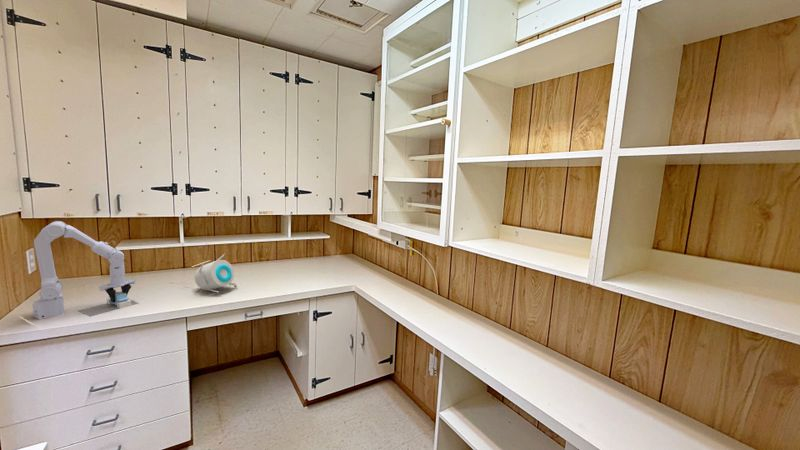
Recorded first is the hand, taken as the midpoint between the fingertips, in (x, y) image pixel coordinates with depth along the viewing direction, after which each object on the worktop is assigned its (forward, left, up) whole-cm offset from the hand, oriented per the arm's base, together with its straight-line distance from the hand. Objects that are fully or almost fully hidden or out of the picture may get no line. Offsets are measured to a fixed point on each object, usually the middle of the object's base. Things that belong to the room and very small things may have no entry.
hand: (118, 300), depth 167 cm
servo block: (0, 0, -1) cm, 1 cm away
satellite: (+41, -16, -3) cm, 44 cm away
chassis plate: (-4, 0, -3) cm, 5 cm away
